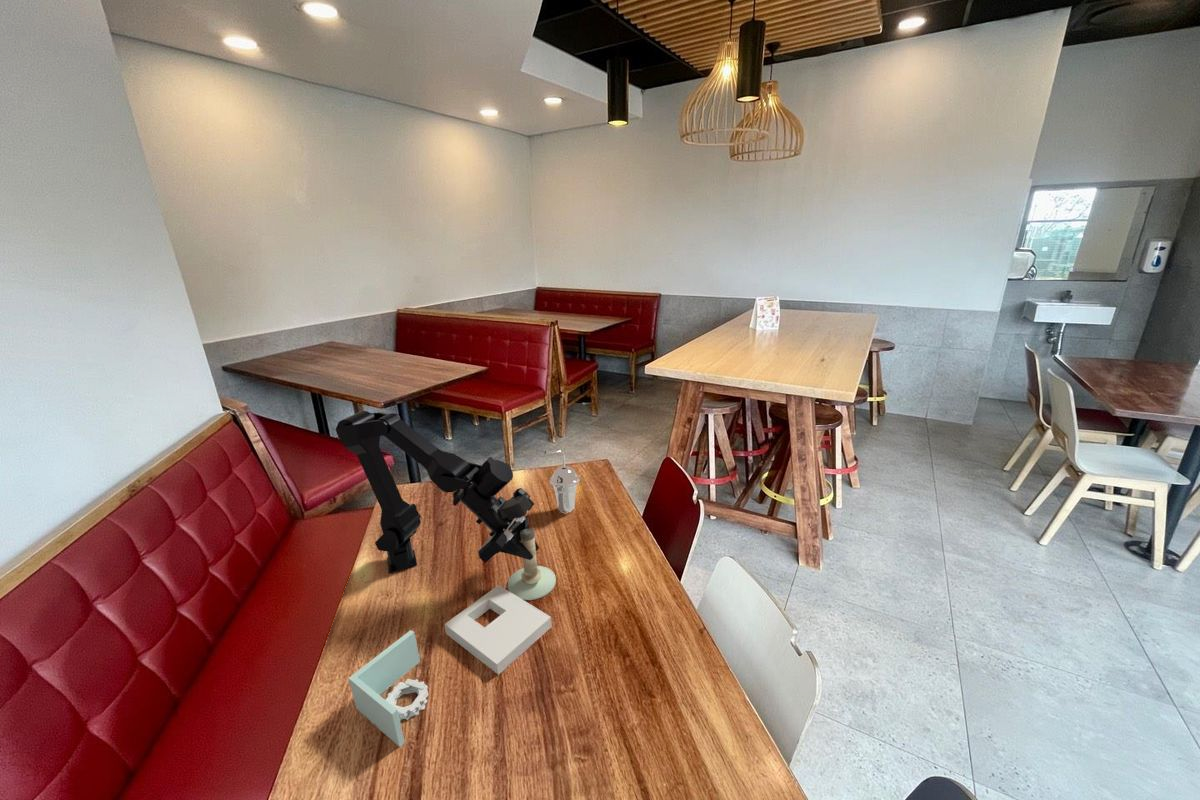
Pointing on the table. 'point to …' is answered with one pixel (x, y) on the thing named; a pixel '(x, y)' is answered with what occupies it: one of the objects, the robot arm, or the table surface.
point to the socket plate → (498, 628)
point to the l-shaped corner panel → (383, 676)
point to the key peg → (530, 566)
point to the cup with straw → (564, 485)
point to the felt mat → (532, 590)
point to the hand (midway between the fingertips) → (534, 554)
